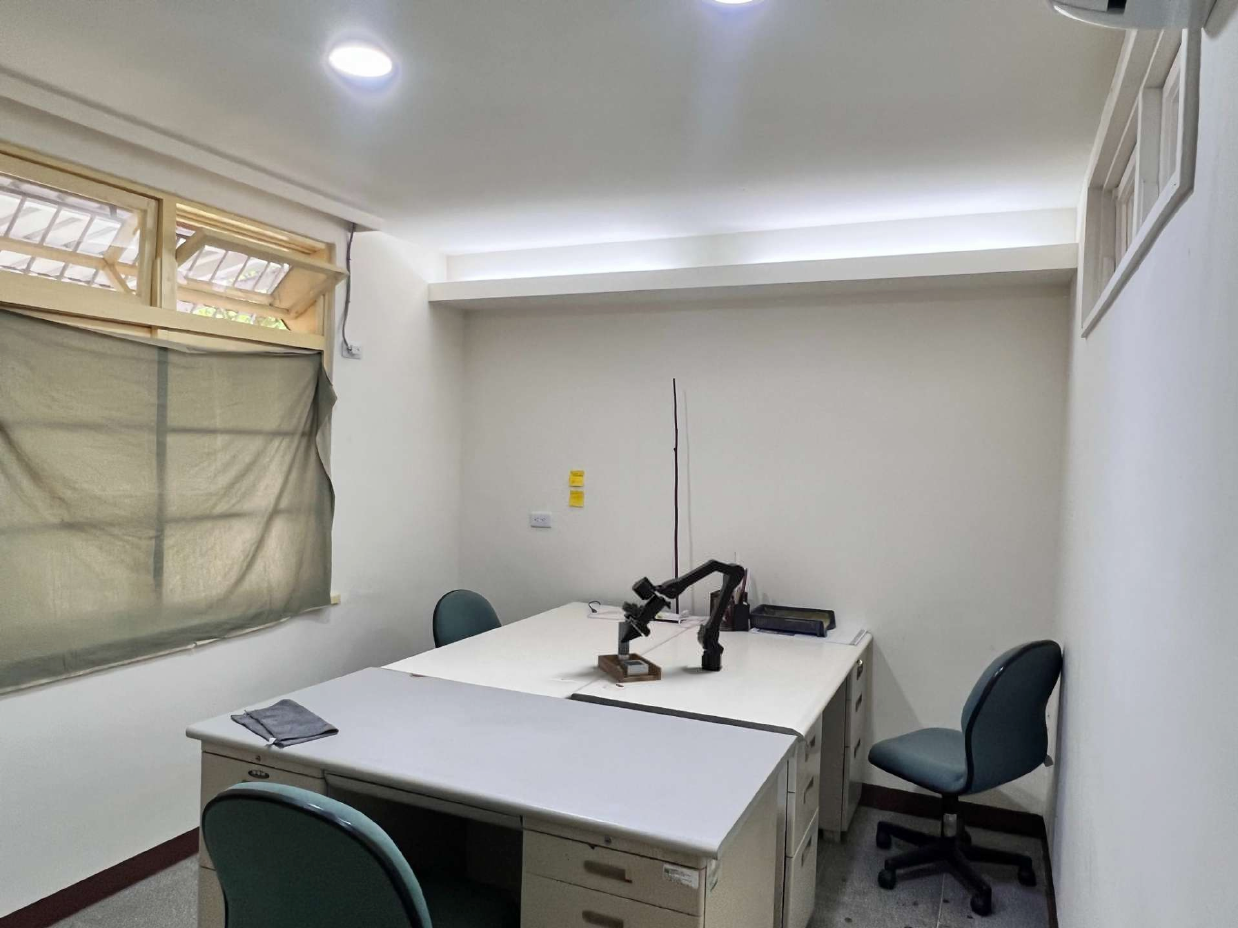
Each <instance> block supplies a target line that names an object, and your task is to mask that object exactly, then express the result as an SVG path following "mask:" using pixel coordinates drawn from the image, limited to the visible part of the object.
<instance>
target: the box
mask: <svg viewBox="0 0 1238 928" xmlns="http://www.w3.org/2000/svg"><path fill="white" fill-rule="evenodd" d="M633 660H641V661H642V662H644V663H646V664H647V665H648V676H642V677H629V678H624V677H623V670H622V669H620V661H633ZM597 668H598V669H600V670H602V671H603V672H605V673H606V674H607V675H609V676H610V677H612V678H613V679H614V680H615V681H617V682H619V683H620V684H623V683H636V682H648V681H661V680H662V667H661V666H659V665H658V664H656V663H653V662H652V661H651V660H648V658H645V657H643V656H642V655H640V654H639V653H636V652H629V660H619V659H618V653H616V654H612V653H611V654H598V655H597Z"/></svg>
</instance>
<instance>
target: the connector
mask: <svg viewBox="0 0 1238 928" xmlns="http://www.w3.org/2000/svg"><path fill="white" fill-rule="evenodd" d="M629 627H630V622H626V621H625V620H624V621H623V620H622V621H618V628H617V629H618V634H617V635H618V636H617V642H618V643H617V654H618V659H619V660H629V653H630V641H631V640H630V641H628V642H626V643H623V644H622V643H621V640H622V638H623V637H624V636H625V634H626V633H627V631H628V630H629Z"/></svg>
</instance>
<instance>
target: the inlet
mask: <svg viewBox="0 0 1238 928" xmlns="http://www.w3.org/2000/svg"><path fill="white" fill-rule="evenodd" d="M620 669H622V670H623V677H624V678H629V677H642V676H648V665H647V664H646V663H644V662H642V661H641V660H633V661H620Z"/></svg>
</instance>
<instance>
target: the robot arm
mask: <svg viewBox="0 0 1238 928" xmlns="http://www.w3.org/2000/svg"><path fill="white" fill-rule="evenodd" d="M715 572H717V573H721V574H723V575H722V585H721V589H720V590H719V593H718V596H717V598H716V599H715V600H716V601H715V602H714V605H713V608H712V611H711V613H710V615H709V618H708V620H707V622H706V623H705V624H703V623H700V626H699V630H697V631H698V632H696V635H697V637H696V639H697V642H698V644H699V645H701V647H702V650H704V651H702V652H703V653H702V654H701V670H705V671H715V672H720V671H721V669H722V668H723V665H722V659H723V658H722V657H723V656H722V655H723V653H724V650H725V647H723V646H722V644H721V643H720V642H719V639H720V632H721V630H720V629H721V624H722V621H723V620H724V616H725V615H726V611H727V609H728V607H729V604H730V601H731V599H732V597H733V594H734V592H735V590H736V589H737V588H738V586H739V585H740V584H741V583H742V581H743V580H744V579H745V577H746V571H745V568H744V567H743V566H742V565H740V564H737V563H734V562H730V563H725V562H722V561H718V560H716V559H713V558H711V559H709V560H708V561H706V562H704V563H703V564H701V565H699V566H698V567H696V568H694V569H692V570H691V571H688V572H687V573H685V574H684V575H682V576H679V577H675V578H672V579H669V580H665V581H663V582H662V583H661V584H655V585H654V584H653V582H651V581H650V579H649V578H648V577H647V576H643V577H642V578H640V579H639V580H638V581H636V582H634V584H633V585H632V586H631V590H632V591H633V593H635V595H636V596H638V598H639V599H640V600H641V601H646V602H645V603H644V604H641V605H639V606H638V604H637V603H635V602H632V603H630V602H628V601H624V603H623V605H622V607H621V610H622V611H623V612H625V613H624V614H623V617H624V621H626V622H630V627H629V630H628V631H627V633H626V634H625V636H624V637H623V638H622V640H621V643H622V644H623V643H626V642H628V641H633V640H635V639H638V638H641V637H645V638H647V637H649V636H650V635H651V629H650V628H649V626H648V625H649V624H650V623H651V622H652V621H655V620H656V619H657V618H656V617H657V616H658V614H660V612H661V611H662V610H663V609H664V608H666V609H668V610H669V611H670V610H672V602H671V601H670V600H675V599H677V598H678V597H680V595H682V594H683V593H684V591H686V589H688V588H689V587H690V586H692V585H694V584H696V583H697V582H699V581H701V580H703V579H704V578H706V577H709V575H712V574H713V573H715ZM657 593H658V594H659V595H658V594H657ZM666 598H667V599H668V600H667V599H666Z"/></svg>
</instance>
